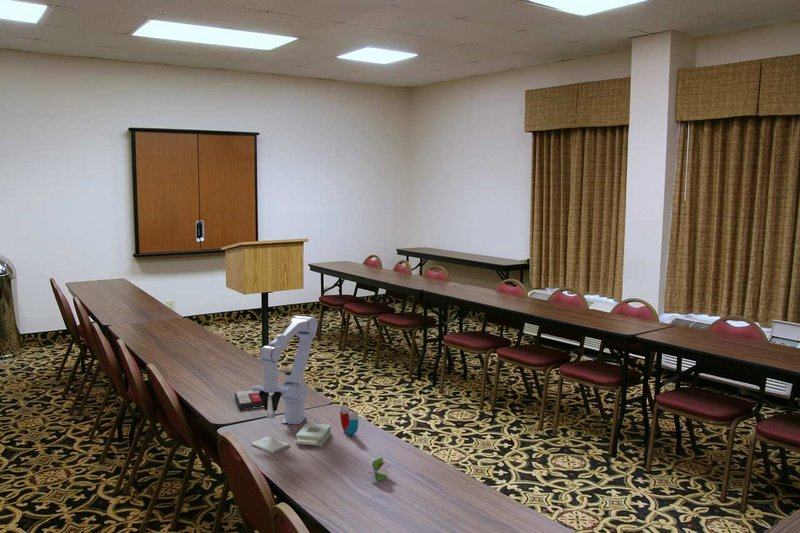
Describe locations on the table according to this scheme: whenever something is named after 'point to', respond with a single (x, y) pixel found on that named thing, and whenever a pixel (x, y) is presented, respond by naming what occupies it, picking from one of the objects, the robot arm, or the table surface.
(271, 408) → the pin
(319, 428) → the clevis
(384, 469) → the geometric puzzle
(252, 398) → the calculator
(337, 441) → the table surface
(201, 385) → the table surface
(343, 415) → the magnet
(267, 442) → the external hard drive
